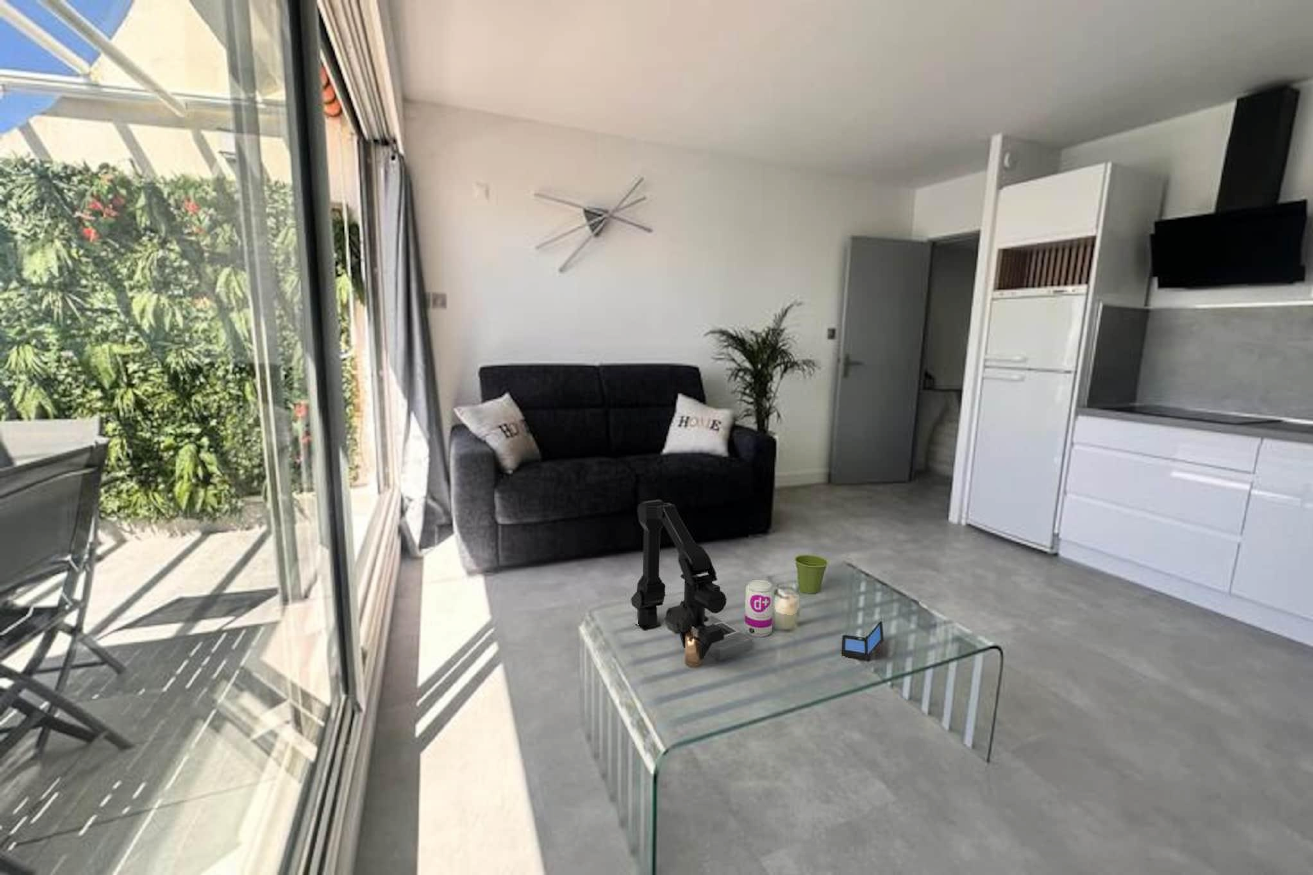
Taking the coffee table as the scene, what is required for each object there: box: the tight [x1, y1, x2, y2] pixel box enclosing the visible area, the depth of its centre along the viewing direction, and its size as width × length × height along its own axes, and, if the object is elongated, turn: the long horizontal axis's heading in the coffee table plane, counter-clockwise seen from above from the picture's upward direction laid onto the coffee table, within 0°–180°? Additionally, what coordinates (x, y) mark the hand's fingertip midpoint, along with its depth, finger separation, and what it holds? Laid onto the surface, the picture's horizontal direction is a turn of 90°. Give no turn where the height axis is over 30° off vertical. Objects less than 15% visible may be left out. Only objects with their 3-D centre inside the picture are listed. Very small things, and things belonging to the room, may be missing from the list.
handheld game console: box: [840, 621, 884, 662], centre depth 165 cm, size 12×11×7 cm
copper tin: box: [684, 632, 703, 669], centre depth 156 cm, size 4×4×8 cm
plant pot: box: [793, 554, 829, 595], centre depth 207 cm, size 12×12×11 cm
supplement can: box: [743, 579, 775, 638], centre depth 175 cm, size 8×8×15 cm
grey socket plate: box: [691, 615, 754, 661], centre depth 169 cm, size 18×12×4 cm, turn 34°
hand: (693, 653), depth 157 cm, fingers open, 7 cm apart
